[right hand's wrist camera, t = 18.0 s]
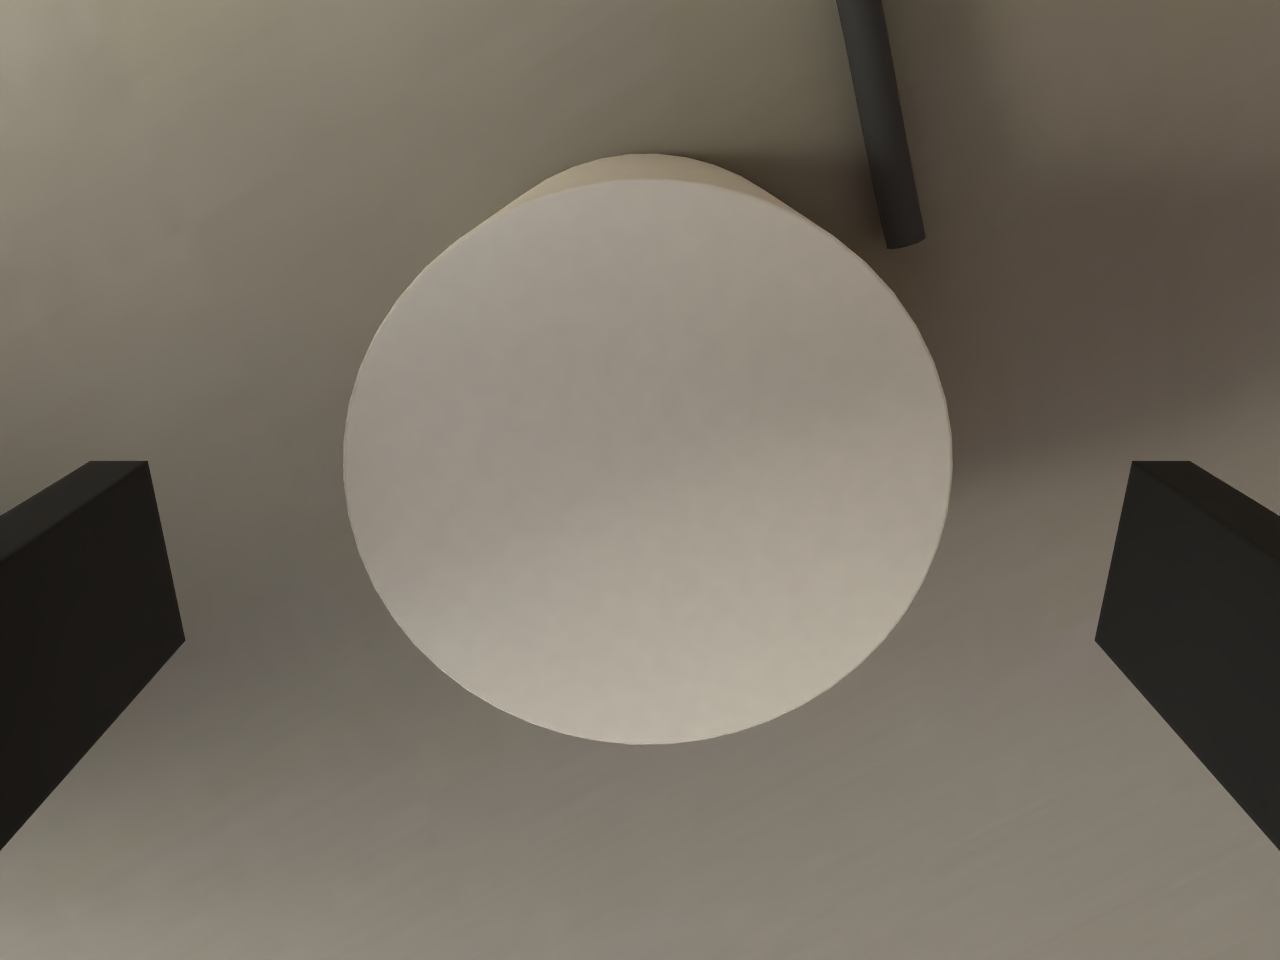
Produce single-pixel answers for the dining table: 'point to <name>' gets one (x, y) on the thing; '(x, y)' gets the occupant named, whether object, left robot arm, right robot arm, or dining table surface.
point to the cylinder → (647, 455)
